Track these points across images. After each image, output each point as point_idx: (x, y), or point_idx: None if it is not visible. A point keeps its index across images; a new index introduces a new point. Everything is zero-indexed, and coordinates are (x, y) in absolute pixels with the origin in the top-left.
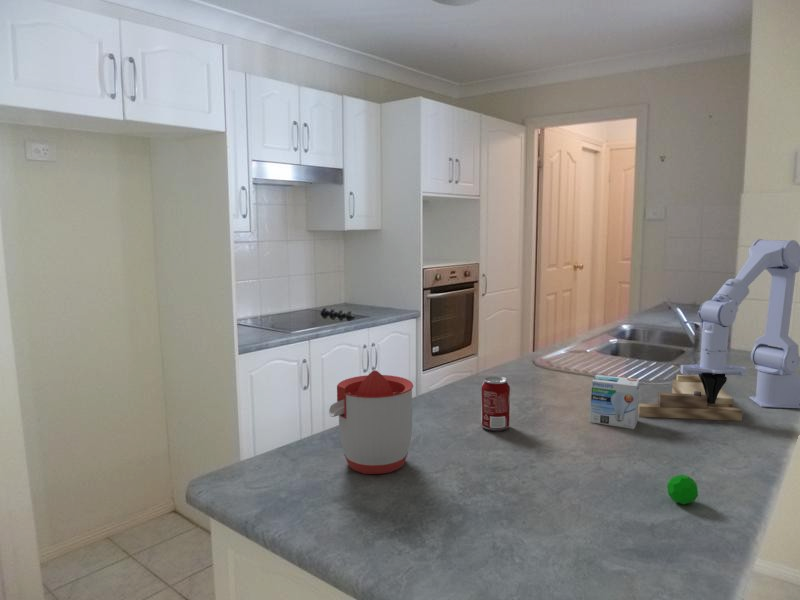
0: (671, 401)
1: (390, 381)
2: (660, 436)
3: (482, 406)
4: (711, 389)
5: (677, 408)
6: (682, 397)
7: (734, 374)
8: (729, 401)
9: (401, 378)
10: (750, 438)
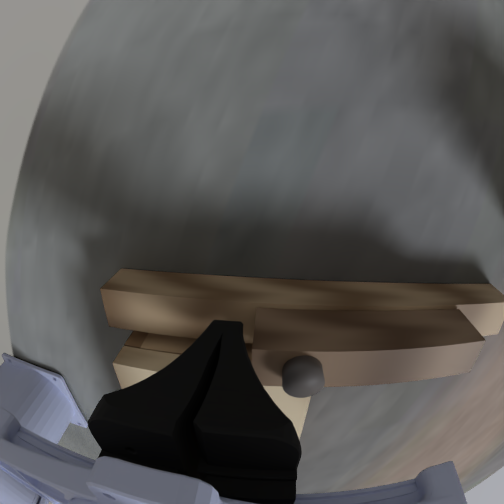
0: (431, 326)
1: None
2: (498, 78)
3: None
4: (229, 373)
5: (395, 304)
6: (394, 343)
7: (45, 443)
8: (132, 356)
9: None
10: (158, 52)
